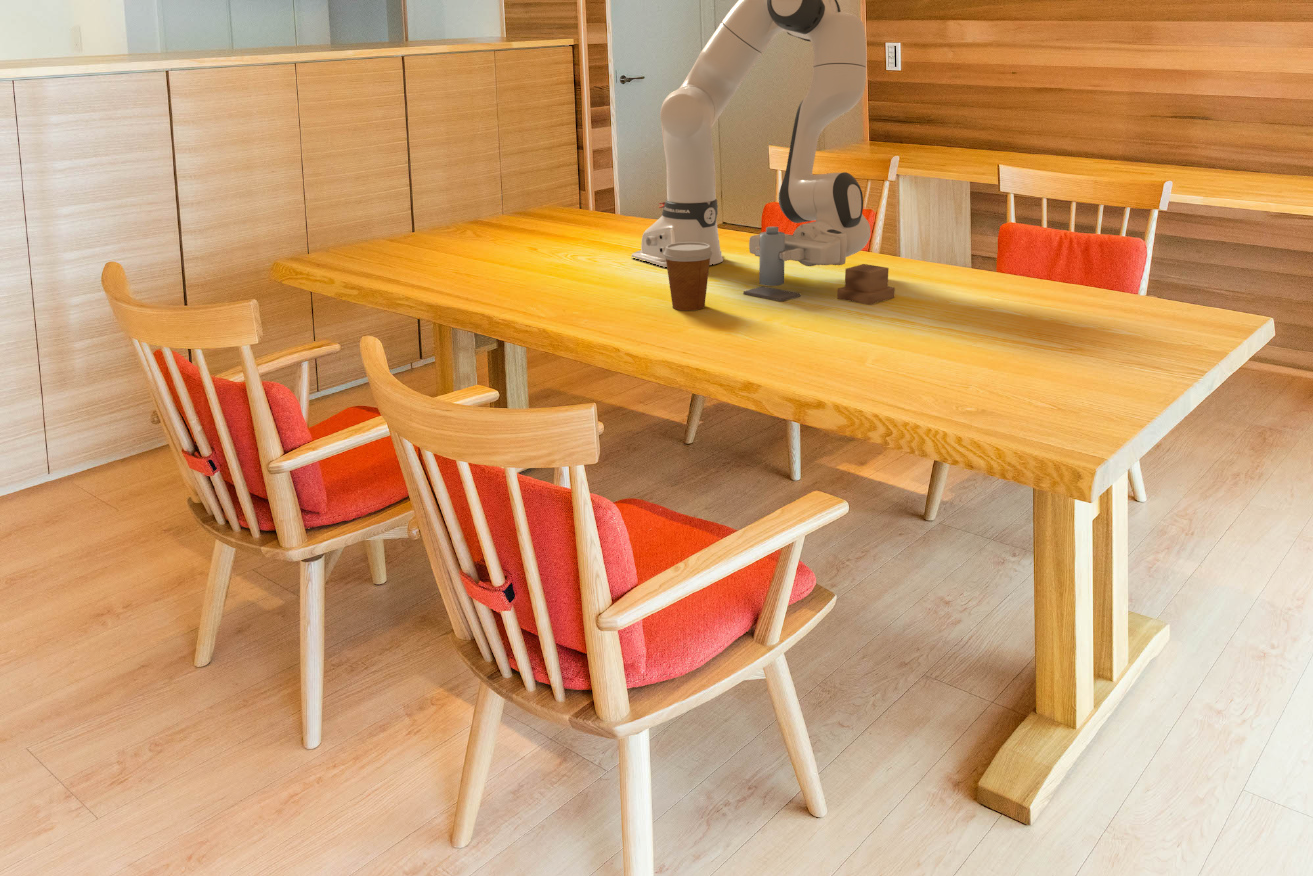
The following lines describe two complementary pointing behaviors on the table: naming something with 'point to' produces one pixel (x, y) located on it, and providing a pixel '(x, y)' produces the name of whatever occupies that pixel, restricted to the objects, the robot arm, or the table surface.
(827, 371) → the table surface
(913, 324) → the table surface
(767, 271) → the gray bottle
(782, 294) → the mat
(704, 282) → the disposable coffee cup
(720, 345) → the table surface
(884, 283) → the brown stepped pedestal
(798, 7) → the robot arm
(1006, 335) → the table surface
